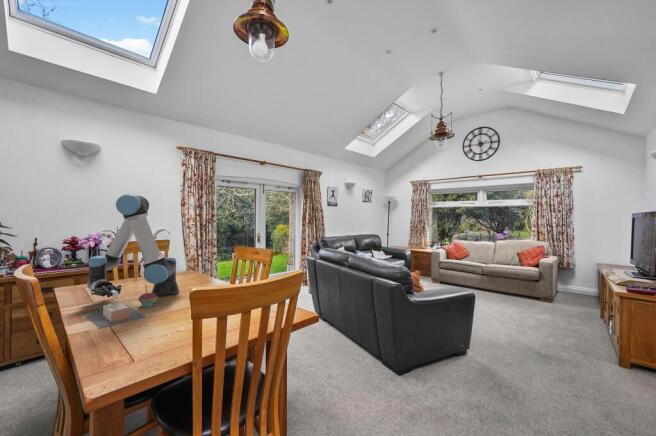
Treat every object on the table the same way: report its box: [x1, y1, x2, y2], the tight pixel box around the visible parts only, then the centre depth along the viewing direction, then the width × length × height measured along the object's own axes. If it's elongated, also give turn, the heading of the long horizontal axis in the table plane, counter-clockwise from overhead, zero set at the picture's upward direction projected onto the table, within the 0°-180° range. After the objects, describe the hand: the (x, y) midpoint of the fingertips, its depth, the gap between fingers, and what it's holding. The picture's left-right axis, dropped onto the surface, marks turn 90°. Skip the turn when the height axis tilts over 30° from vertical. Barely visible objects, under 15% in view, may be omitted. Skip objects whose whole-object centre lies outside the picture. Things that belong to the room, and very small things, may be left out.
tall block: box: [102, 301, 130, 322], centre depth 132 cm, size 5×7×14 cm
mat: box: [83, 304, 147, 330], centre depth 134 cm, size 28×18×1 cm, turn 53°
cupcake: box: [138, 284, 158, 308], centre depth 149 cm, size 9×8×12 cm
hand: (116, 295), depth 132 cm, fingers closed
